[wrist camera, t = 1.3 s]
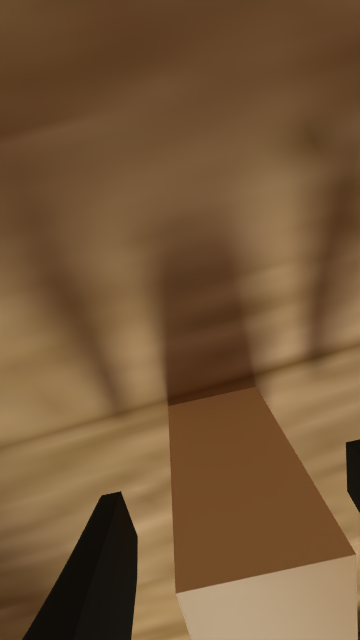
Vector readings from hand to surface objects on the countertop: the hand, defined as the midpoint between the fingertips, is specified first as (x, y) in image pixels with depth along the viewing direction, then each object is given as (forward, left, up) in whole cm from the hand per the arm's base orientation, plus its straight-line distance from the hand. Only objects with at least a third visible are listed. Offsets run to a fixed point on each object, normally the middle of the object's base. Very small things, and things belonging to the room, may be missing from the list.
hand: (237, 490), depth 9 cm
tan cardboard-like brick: (0, 0, -3) cm, 3 cm away
